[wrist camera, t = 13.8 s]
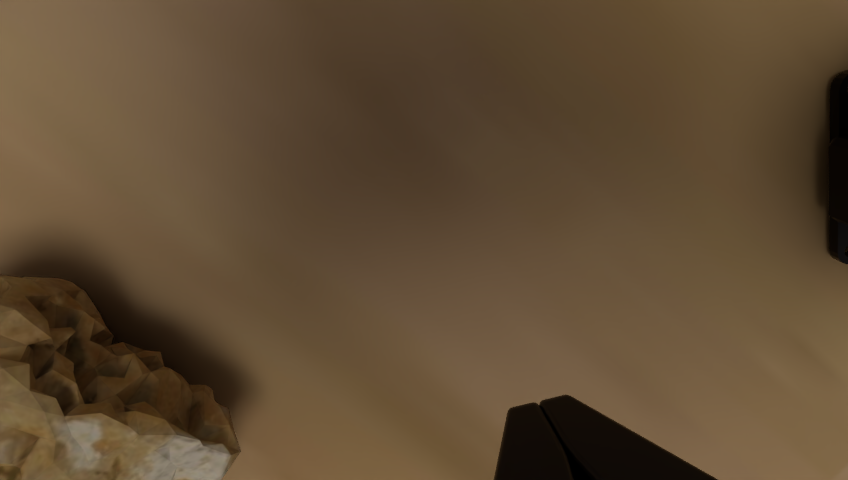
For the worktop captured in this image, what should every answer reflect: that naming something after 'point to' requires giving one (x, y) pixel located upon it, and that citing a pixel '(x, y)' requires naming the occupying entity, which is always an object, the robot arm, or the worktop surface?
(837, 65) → the worktop surface
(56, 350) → the rock
